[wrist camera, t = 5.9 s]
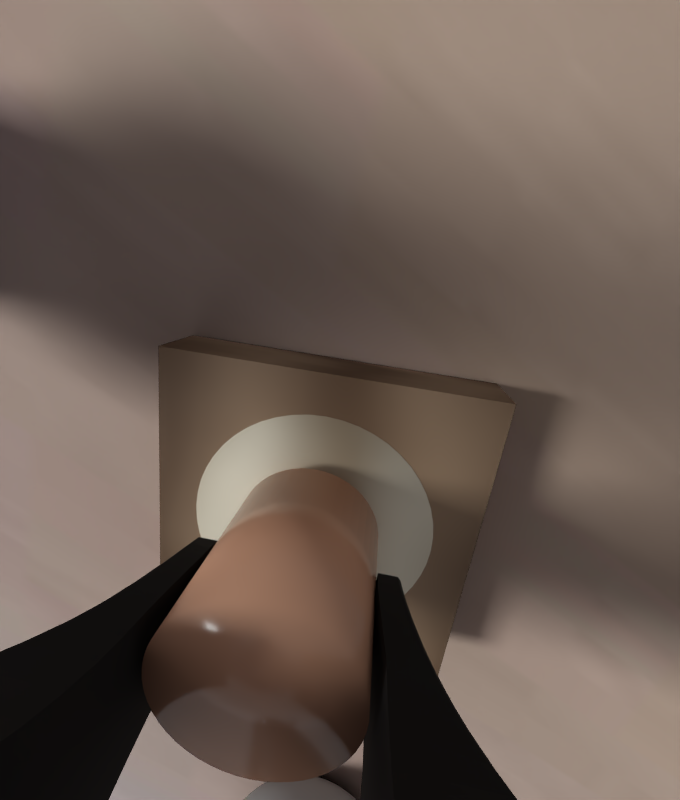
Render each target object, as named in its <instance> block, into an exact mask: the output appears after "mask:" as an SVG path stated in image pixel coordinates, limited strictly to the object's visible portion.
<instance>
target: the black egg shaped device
mask: <svg viewBox="0 0 680 800" xmlns="http://www.w3.org/2000/svg"><path fill="white" fill-rule="evenodd" d="M244 800H356V799H355V798H354V797H353V796H352V795H350V794H349V793H348V792H347V791H345V790H344V789H343V788H341V787H340V786H338V785H336V784H334V783H332V782H330V781H328V780H325V779H323V778H319V777H315V778H311V779H307V780H303V781H295V782H266V783H264V784H262V785H261V786H259V787H258V788H256V789H255V790H254V791H252V792H251V793H250V794H249V795H248V796H247V797H246V798H245V799H244Z"/></svg>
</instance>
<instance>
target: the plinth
mask: <svg viewBox="0 0 680 800" xmlns="http://www.w3.org/2000/svg"><path fill="white" fill-rule="evenodd" d="M158 350H159V462H160V565H161V564H162V563H163V562H165V561H166V560H168V559H169V558H170V557H172V556H173V555H175V554H176V553H177V552H179V551H180V550H181V549H183V548H184V547H186V546H187V545H188V544H190V543H191V542H193V541H194V540H195V539H197V538H198V537H201V538H206V539H211V540H216V541H218V539H219V538H220V536H221V535H222V533H223V532H224V530H225V529H226V527H227V526H228V524H229V523H230V521H231V520H232V519H233V517H234V516H235V514H236V513H237V511H238V510H239V508H240V507H241V505H242V504H243V502H244V501H245V499H246V498H247V496H248V495H249V493H250V492H251V491H252V490H253V488H254V487H255V486H256V485H257V484H259V483H260V482H261V481H262V480H264V479H265V478H267V477H269V476H271V475H273V474H275V473H278V472H281V471H284V470H289V469H298V468H306V469H315V470H320V471H324V472H327V473H330V474H333V475H335V476H337V477H339V478H341V479H343V480H344V481H346V482H348V483H349V484H350V485H352V486H353V487H354V488H356V489H357V490H358V491H359V492H360V493H361V494H362V496H363V497H364V498H365V499H366V501H367V502H368V504H369V505H370V507H371V509H372V511H373V513H374V516H375V518H376V522H377V526H378V535H379V536H378V556H377V575H378V573H381V574H386V575H391V576H396V577H398V578H399V579H400V581H401V585H402V588H403V592H404V595H405V599H406V602H407V605H408V608H409V610H410V613H411V616H412V619H413V621H414V624H415V627H416V629H417V631H418V634H419V636H420V639H421V641H422V644H423V646H424V648H425V650H426V653H427V655H428V657H429V659H430V661H431V663H432V665H433V667H434V669H435V672H436V674H437V676H438V673H439V670H440V666H441V663H442V660H443V656H444V653H445V649H446V646H447V642H448V639H449V635H450V632H451V628H452V625H453V622H454V618H455V615H456V611H457V608H458V604H459V601H460V597H461V594H462V590H463V587H464V584H465V580H466V577H467V573H468V570H469V566H470V563H471V559H472V556H473V553H474V549H475V546H476V542H477V539H478V535H479V532H480V528H481V525H482V521H483V518H484V515H485V511H486V508H487V504H488V501H489V497H490V494H491V490H492V487H493V483H494V480H495V477H496V473H497V470H498V466H499V463H500V459H501V456H502V452H503V449H504V445H505V442H506V439H507V435H508V432H509V428H510V425H511V421H512V418H513V414H514V411H515V408H516V404H515V402H514V401H513V400H512V399H511V398H510V397H509V396H508V395H507V394H506V393H505V392H504V391H503V390H502V389H501V388H500V387H499V386H498V385H497V384H494V383H488V382H481V381H475V380H469V379H463V378H456V377H450V376H444V375H438V374H431V373H425V372H419V371H413V370H406V369H400V368H394V367H388V366H381V365H375V364H369V363H363V362H356V361H350V360H344V359H338V358H331V357H325V356H319V355H312V354H306V353H300V352H294V351H287V350H281V349H275V348H269V347H262V346H256V345H250V344H244V343H237V342H231V341H225V340H219V339H212V338H206V337H200V336H194V335H193V336H189V337H186V338H183V339H180V340H177V341H173V342H170V343H167V344H164V345H160V346H158ZM377 575H376V580H377Z"/></svg>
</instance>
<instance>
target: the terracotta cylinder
mask: <svg viewBox="0 0 680 800" xmlns="http://www.w3.org/2000/svg"><path fill="white" fill-rule="evenodd" d="M378 536H379V535H378V526H377V522H376V518H375V516H374V513H373V511H372V509H371V507H370V505H369V504H368V502H367V501H366V499H365V498H364V497H363V496H362V494H361V493H360V492H359V491H358V490H357V489H356V488H354V487H353V486H352V485H350V484H349V483H348V482H346V481H344V480H343V479H341V478H339V477H337V476H335V475H333V474H330V473H327V472H324V471H320V470H315V469H306V468H298V469H289V470H284V471H281V472H278V473H275V474H273V475H271V476H269V477H267V478H265V479H264V480H262V481H261V482H260V483H259V484H257V485H256V486H255V487H254V488H253V490H252V491H251V492H250V493H249V495H248V496H247V498H246V499H245V501H244V502H243V504H242V505H241V507H240V508H239V510H238V511H237V513H236V514H235V516H234V517H233V519H232V520H231V521H230V523H229V524H228V526H227V527H226V529H225V530H224V532H223V533H222V535H221V536H220V538H219V539H218V541H217V542H216V544H215V545H214V547H213V548H212V550H211V551H210V553H209V554H208V556H207V557H206V559H205V560H204V562H203V563H202V565H201V566H200V567H199V569H198V570H197V572H196V573H195V575H194V576H193V578H192V579H191V581H190V582H189V584H188V585H187V587H186V588H185V590H184V591H183V593H182V594H181V596H180V597H179V599H178V600H177V602H176V603H175V605H174V606H173V608H172V609H171V611H170V612H169V613H168V615H167V616H166V618H165V619H164V621H163V622H162V624H161V625H160V627H159V628H158V630H157V631H156V633H155V634H154V636H153V637H152V639H151V641H150V642H149V644H148V646H147V648H146V651H145V654H144V657H143V662H142V684H143V690H144V693H145V696H146V699H147V702H148V704H149V706H150V708H151V711H152V712H153V714H154V716H155V717H156V719H157V720H158V722H159V723H160V725H161V726H162V727H163V728H164V730H165V731H166V732H167V733H168V734H169V735H170V736H171V737H172V738H173V739H174V740H175V741H176V742H177V743H178V744H179V745H180V746H182V747H183V748H184V749H185V750H186V751H188V752H189V753H191V754H192V755H194V756H195V757H197V758H198V759H200V760H202V761H204V762H205V763H207V764H209V765H211V766H213V767H215V768H217V769H220V770H222V771H224V772H227V773H230V774H233V775H236V776H239V777H243V778H247V779H252V780H258V781H264V782H295V781H303V780H307V779H311V778H315V777H318V776H321V775H324V774H326V773H329V772H330V771H332V770H334V769H336V768H338V767H339V766H341V765H342V764H343V763H345V762H346V761H347V760H348V759H349V758H350V757H351V756H352V755H353V754H354V753H355V752H356V751H357V749H358V748H359V746H360V745H361V743H362V741H363V739H364V737H365V735H366V732H367V728H368V724H369V714H370V695H371V675H372V655H373V635H374V615H375V595H376V575H377V556H378Z"/></svg>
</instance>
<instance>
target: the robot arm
mask: <svg viewBox="0 0 680 800" xmlns="http://www.w3.org/2000/svg"><path fill="white" fill-rule="evenodd" d="M216 542H217V541H216V540H211V539H206V538H201V537H198V538H197V539H195V540H194V541H193V542H191V543H190V544H188V545H187V546H186V547H184V548H183V549H181V550H180V551H179V552H177V553H176V554H175V555H173V556H172V557H170V558H169V559H168V560H166V561H165V562H163V563H162V564H161V565H159V566H158V567H156V568H155V569H153V570H152V571H150V572H149V573H148V574H146V575H145V576H143V577H142V578H140V579H139V580H137V581H136V582H134V583H133V584H131V585H130V586H128V587H126V588H125V589H123V590H122V591H120V592H119V593H117V594H115V595H114V596H112V597H111V598H109V599H107V600H106V601H104V602H102V603H100V604H99V605H97V606H95V607H93V608H92V609H90V610H88V611H86V612H84V613H82V614H80V615H79V616H77V617H75V618H73V619H71V620H69V621H67V622H65V623H63V624H61V625H59V626H57V627H55V628H52V629H50V630H48V631H46V632H44V633H42V634H40V635H37V636H35V637H33V638H31V639H29V640H27V641H24V642H22V643H20V644H17V645H15V646H13V647H10V648H8V649H5V650H3V651H1V652H0V800H109V798H110V795H111V793H112V791H113V789H114V787H115V785H116V783H117V780H118V778H119V776H120V774H121V772H122V770H123V767H124V765H125V763H126V761H127V759H128V757H129V755H130V752H131V750H132V748H133V746H134V744H135V742H136V740H137V738H138V736H139V734H140V732H141V730H142V728H143V726H144V723H145V721H146V719H147V717H148V715H149V713H150V712H151V708H150V706H149V704H148V702H147V699H146V696H145V693H144V690H143V684H142V662H143V657H144V654H145V651H146V648H147V646H148V644H149V642H150V641H151V639H152V637H153V636H154V634H155V633H156V631H157V630H158V628H159V627H160V625H161V624H162V622H163V621H164V619H165V618H166V616H167V615H168V613H169V612H170V611H171V609H172V608H173V606H174V605H175V603H176V602H177V600H178V599H179V597H180V596H181V594H182V593H183V591H184V590H185V588H186V587H187V585H188V584H189V582H190V581H191V579H192V578H193V576H194V575H195V573H196V572H197V570H198V569H199V567H200V566H201V565H202V563H203V562H204V560H205V559H206V557H207V556H208V554H209V553H210V551H211V550H212V548H213V547H214V545H215V544H216ZM360 800H517V799H516V797H515V796H514V795H513V793H512V792H511V791H510V789H509V788H508V787H507V785H506V784H505V783H504V781H503V780H502V778H501V777H500V776H499V774H498V773H497V772H496V770H495V769H494V767H493V766H492V764H491V763H490V761H489V760H488V758H487V757H486V755H485V754H484V752H483V751H482V750H481V748H480V747H479V745H478V744H477V742H476V741H475V739H474V738H473V736H472V735H471V733H470V732H469V730H468V728H467V727H466V725H465V724H464V722H463V720H462V719H461V717H460V715H459V714H458V712H457V710H456V709H455V707H454V705H453V703H452V702H451V700H450V698H449V696H448V694H447V693H446V691H445V689H444V687H443V685H442V683H441V681H440V679H439V677H438V676H437V674H436V672H435V669H434V667H433V665H432V663H431V661H430V659H429V657H428V655H427V653H426V650H425V648H424V646H423V644H422V641H421V639H420V636H419V634H418V631H417V629H416V627H415V624H414V621H413V619H412V616H411V613H410V610H409V608H408V605H407V602H406V599H405V595H404V592H403V588H402V585H401V581H400V579H399V578H398V577H396V576H391V575H386V574H381V573H378V575H377V580H376V595H375V615H374V635H373V655H372V675H371V695H370V714H369V724H368V728H367V732H366V735H365V737H364V750H363V772H362V785H361V798H360Z"/></svg>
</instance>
